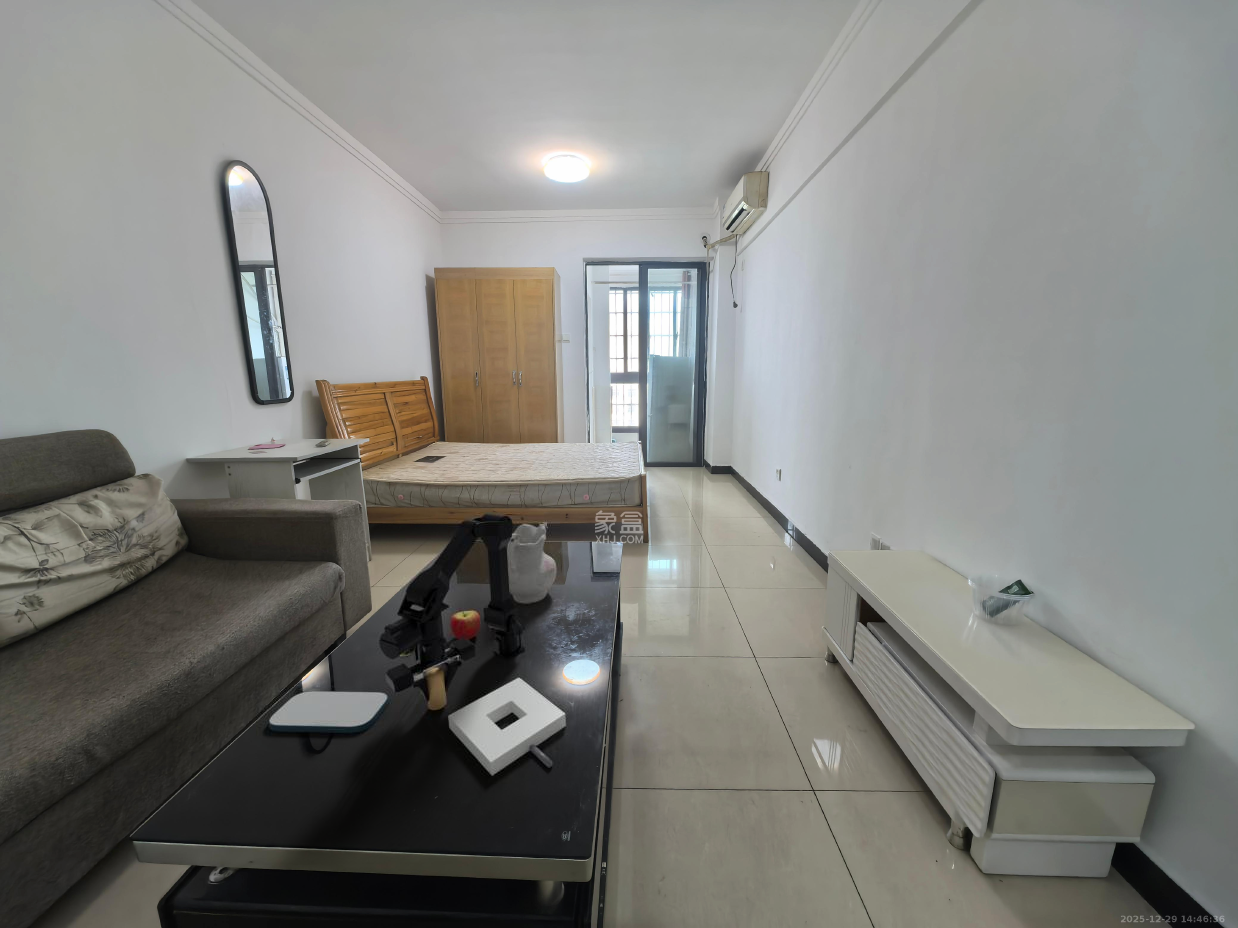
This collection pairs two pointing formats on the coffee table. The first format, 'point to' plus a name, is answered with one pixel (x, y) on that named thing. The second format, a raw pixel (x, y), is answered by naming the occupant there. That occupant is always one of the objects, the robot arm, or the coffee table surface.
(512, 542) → the ceramic pitcher
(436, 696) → the tan peg
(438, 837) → the coffee table surface
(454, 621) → the apple
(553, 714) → the grey board with hole
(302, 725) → the external hard drive
